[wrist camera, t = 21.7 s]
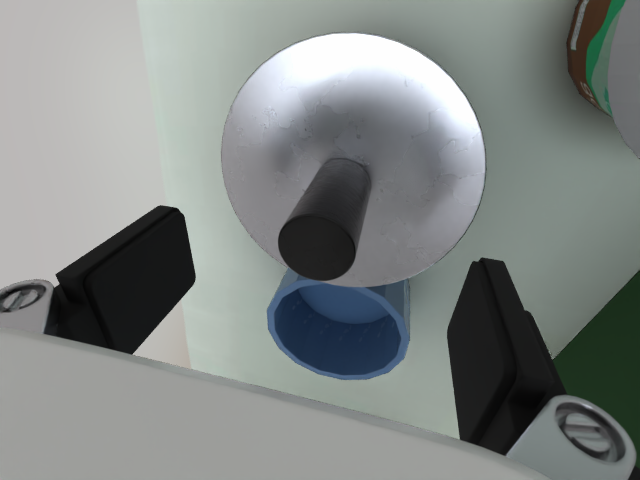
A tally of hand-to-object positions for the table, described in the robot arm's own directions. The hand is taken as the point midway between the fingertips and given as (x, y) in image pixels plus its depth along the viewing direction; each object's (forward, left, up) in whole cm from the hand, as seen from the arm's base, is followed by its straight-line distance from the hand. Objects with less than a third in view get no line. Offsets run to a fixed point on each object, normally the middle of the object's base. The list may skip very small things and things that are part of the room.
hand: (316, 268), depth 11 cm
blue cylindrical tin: (-13, 0, -15) cm, 20 cm away
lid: (+1, 0, -6) cm, 6 cm away
